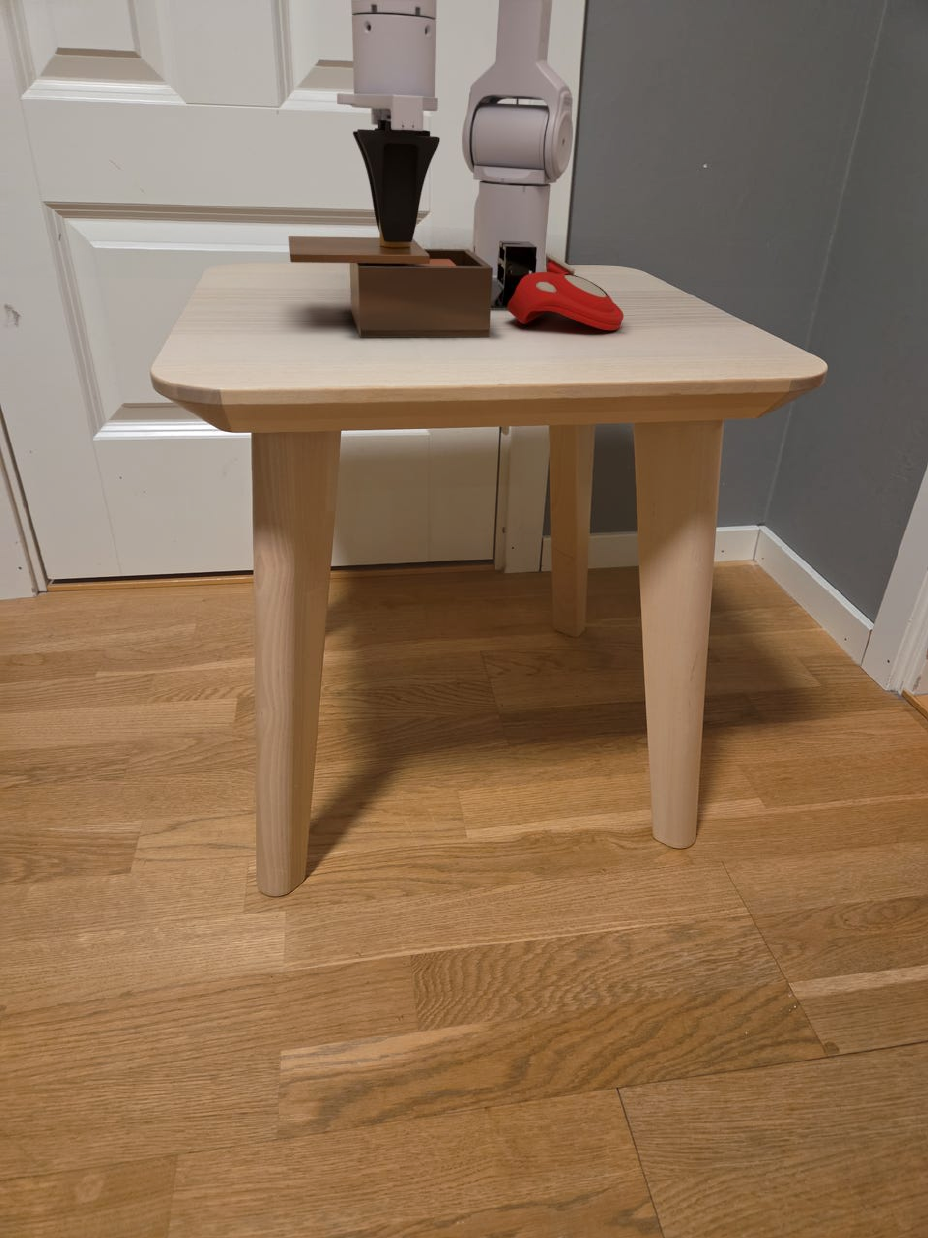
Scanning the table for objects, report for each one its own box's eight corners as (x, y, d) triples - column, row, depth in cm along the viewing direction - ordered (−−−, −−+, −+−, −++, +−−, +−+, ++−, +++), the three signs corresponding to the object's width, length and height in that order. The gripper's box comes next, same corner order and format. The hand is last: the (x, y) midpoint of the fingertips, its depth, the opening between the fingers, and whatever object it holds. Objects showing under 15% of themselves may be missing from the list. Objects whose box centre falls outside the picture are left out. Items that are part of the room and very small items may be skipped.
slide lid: (288, 243, 65) (284, 186, 63) (412, 245, 67) (413, 189, 65) (290, 262, 58) (286, 197, 56) (429, 263, 60) (430, 201, 58)
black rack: (468, 284, 83) (470, 233, 80) (539, 285, 84) (543, 235, 81) (487, 309, 72) (490, 251, 70) (568, 310, 73) (574, 253, 71)
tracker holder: (652, 314, 67) (564, 295, 61) (626, 363, 69) (539, 349, 63) (570, 249, 73) (483, 226, 67) (549, 296, 76) (463, 278, 70)
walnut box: (351, 311, 69) (348, 247, 66) (467, 311, 71) (469, 249, 68) (360, 337, 62) (358, 266, 59) (489, 336, 63) (493, 267, 61)
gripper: (328, 23, 61) (336, 224, 68) (341, 4, 49) (349, 251, 56) (423, 28, 62) (421, 226, 69) (457, 11, 50) (451, 253, 57)
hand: (395, 238), depth 63 cm, fingers closed on slide lid, 2 cm apart
